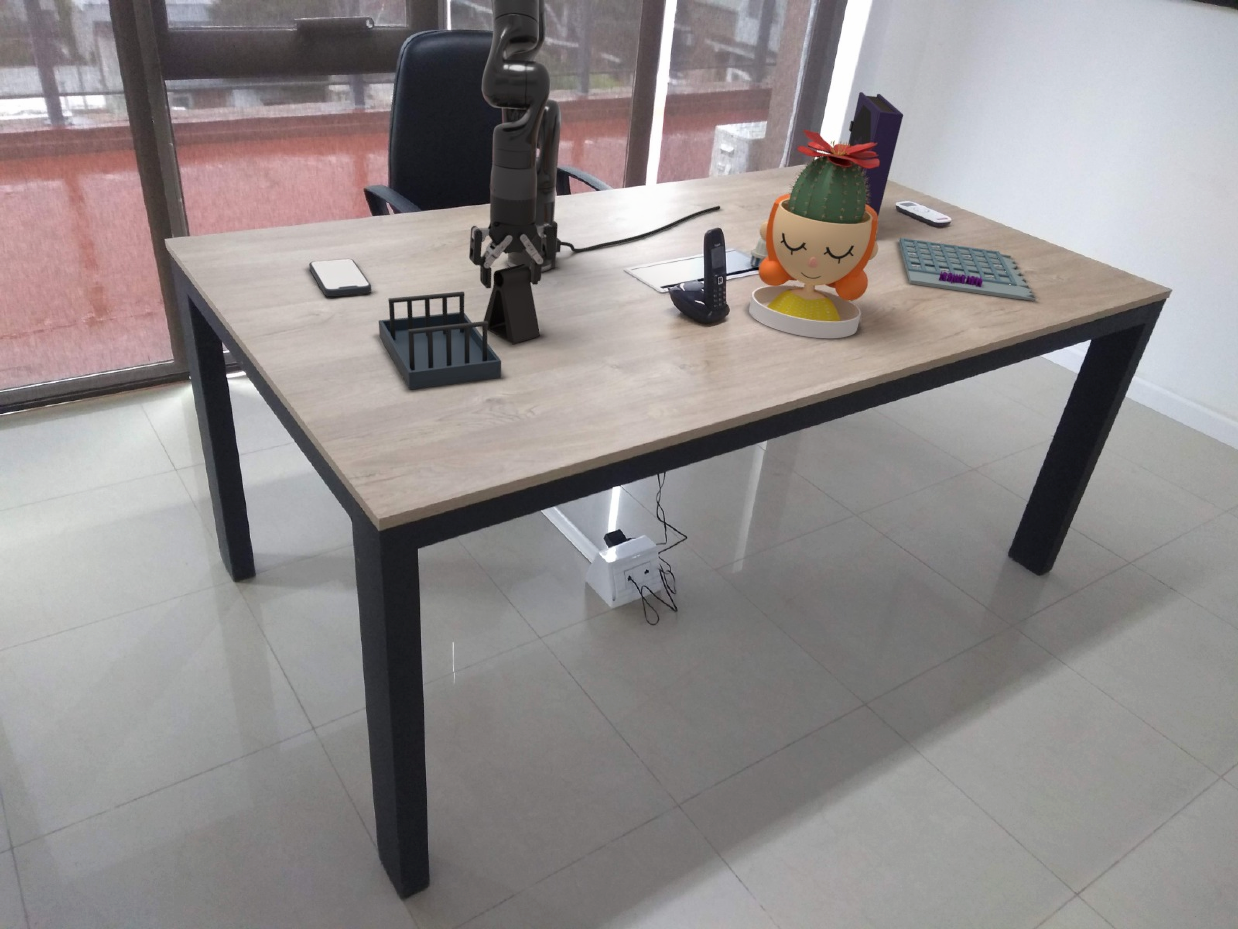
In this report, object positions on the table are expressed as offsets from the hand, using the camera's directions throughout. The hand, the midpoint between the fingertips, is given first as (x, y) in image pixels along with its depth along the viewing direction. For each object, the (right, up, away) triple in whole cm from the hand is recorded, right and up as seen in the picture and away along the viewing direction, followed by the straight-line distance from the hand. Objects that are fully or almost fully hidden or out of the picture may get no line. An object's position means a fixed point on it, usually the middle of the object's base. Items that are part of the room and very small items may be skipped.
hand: (510, 284), depth 158 cm
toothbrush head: (+58, +15, +50) cm, 78 cm away
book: (+79, +31, +77) cm, 115 cm away
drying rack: (-11, -13, -6) cm, 18 cm away
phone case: (-35, +4, +18) cm, 39 cm away
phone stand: (-1, -7, +5) cm, 9 cm away
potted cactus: (+55, -1, +24) cm, 60 cm away
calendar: (+99, +14, +54) cm, 114 cm away
